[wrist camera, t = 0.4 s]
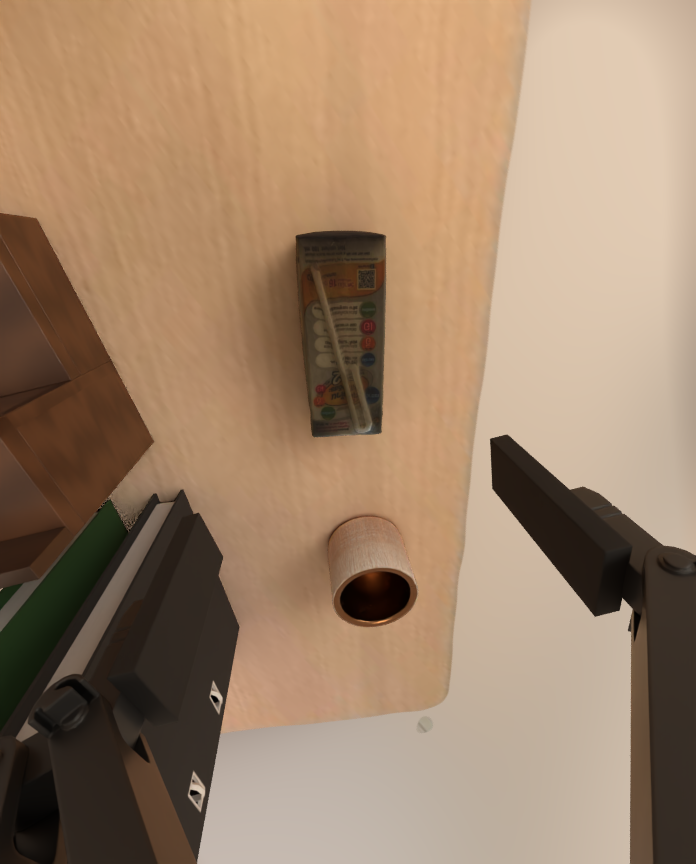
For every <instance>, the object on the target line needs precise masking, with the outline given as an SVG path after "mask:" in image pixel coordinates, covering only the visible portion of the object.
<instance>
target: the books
mask: <svg viewBox="0 0 696 864" xmlns="http://www.w3.org/2000/svg"><path fill="white" fill-rule="evenodd" d="M189 515H193V512H192V510H191V507H190V505H189V502H188V500H187V498H186V495H185V493H184V490H181V491H180V493H179V495H178V497H177V498H176V500H175V502H168V503H161V504H160V502H159V499H158V496H157V494H153V496H152V498H151V499H150V501H149V502H148V504H147V505H146V507H145V508H144V510H143V512H142V513H141V515H140V516H139V518H138V519H137V521H136V522H135V524H134V525H133V527H132V529H131V530H130V532H129V533H128V532H127V530H126V528H125V526H124V525H123V523H122V521H121V519H120V517H119V515H118V513H117V511H116V509H115V508H114V506H113V504H112V502H111V500H108V501H107V502H106V503H105V505H104V506H103V507H102V508H101V509H100V511H99V512H97V513H94V514H93V516H92V517H91V518H90V519H89V520H88V522H87V523H86V524H85V525H84V526H83V527H82V529H81V530H80V531H79V532H78V533H77V535H76V536H75V537H74V538H73V540H72V541H71V542H70V543H69V544H68V546H67V547H66V548H65V549H64V550H63V552H62V553H61V554H60V555H59V556H58V558H57V559H56V560H55V561H54V562H53V564H52V565H51V566H50V567H49V568H48V570H47V571H46V572H45V573H44V574H43V576H42V577H41V578H40V579H38V580H34V581H30V582H26V583H22V584H17V585H13V586H9V587H5V588H3V589H2V590H1V591H0V737H2V736H9V735H12V736H13V737H15V738H16V739H17V740H19V741H20V742H22V741H23V740H25V739H27V738H29V737H30V736H32V735H34V734H36V733H38V731H36V730H35V729H34V728H32V727H31V726H30V725H29V724H28V717H29V714H30V712H31V710H32V708H33V706H34V704H35V703H36V701H37V700H38V699H39V698H40V696H41V695H42V694H43V693H44V692H45V691H46V690H47V689H48V688H49V687H50V686H51V685H53V684H54V683H55V682H57V681H58V680H60V679H62V678H63V677H65V676H68V675H71V674H81V675H82V676H83V677H84V678H85V679H86V680H87V681H88V682H89V681H90V679H91V677H92V675H93V673H94V671H95V669H96V667H97V665H98V663H99V661H100V659H101V657H102V655H103V653H104V651H105V649H106V647H107V645H109V641H110V639H111V637H112V635H113V633H115V632H116V630H115V629H116V628H117V626H118V624H119V622H120V620H121V618H122V616H123V614H124V613H125V612H126V611H127V610H128V608H129V607H130V606H131V605H132V604H133V602H134V601H137V600H141V599H144V597H145V595H146V593H147V591H148V589H149V587H150V584H151V582H152V580H153V578H154V576H155V574H156V572H157V570H158V567H159V565H160V563H161V561H162V559H163V557H164V555H165V553H166V550H167V548H168V546H169V544H170V542H171V540H172V538H173V536H174V533H175V531H176V529H177V527H178V525H179V523H180V521H181V519H182V517H185V516H189ZM238 631H239V625H238V623H237V620H236V618H235V615H234V613H233V610H232V608H231V605H230V603H229V601H228V598H227V596H226V593H225V591H224V588H223V586H222V583H221V581H220V578H219V576H218V578H217V582H216V585H215V589H214V593H213V596H212V600H211V604H210V607H209V611H208V615H207V618H206V622H205V626H204V629H203V633H202V637H201V640H200V644H199V648H198V651H197V655H196V659H195V662H194V666H193V670H192V673H191V677H190V681H189V684H188V688H187V692H186V696H185V699H184V703H183V707H182V710H181V714H180V718H179V721H177V722H173V723H169V724H165V725H161V726H157V727H154V726H153V725H152V724H151V723H150V722H149V721H148V720H147V719H146V718H145V720H144V723H143V726H142V728H141V731H140V732H141V733H142V734H143V735H144V736H145V738H146V740H147V743H148V745H149V748H150V750H151V753H152V755H153V757H154V760H155V762H156V765H157V767H158V770H159V772H160V774H161V777H162V779H163V782H164V784H165V787H166V789H167V791H168V794H169V796H170V799H171V801H172V804H173V806H174V808H175V811H176V813H177V816H178V818H179V821H180V823H181V825H182V828H183V830H184V833H185V835H186V838H187V840H188V842H189V845H190V847H191V850H192V852H193V855H194V857H195V859H196V862H197V859H198V854H199V848H200V842H201V837H202V831H203V826H204V820H205V814H206V809H207V803H208V797H209V792H210V787H211V781H212V776H213V770H214V765H215V759H216V754H217V748H218V742H219V737H220V731H221V726H222V720H223V715H224V709H225V704H226V698H227V692H228V687H229V681H230V676H231V670H232V665H233V659H234V654H235V648H236V642H237V637H238ZM67 864H68V861H67Z"/></svg>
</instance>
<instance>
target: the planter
mask: <svg viewBox="0 0 696 864" xmlns="http://www.w3.org/2000/svg"><path fill="white" fill-rule="evenodd" d="M328 560H329V570H330V580H331V591H332V603H333V608H334V610H335V612H336V614H337V615H338V616H339V617H340V618H341V619H342V620H344V621H345V622H347V623H349V624H352V625H355V626H360V627H377V626H383V625H386V624H389V623H392V622H394V621H396V620H398V619H400V618H401V617H403V616H404V615H406V614H407V613H408V612H409V611H410V610H411V609H412V607H413V606H414V604H415V603H416V600H417V597H418V586H417V583H416V580H415V577H414V574H413V571H412V568H411V565H410V562H409V559H408V555H407V552H406V549H405V546H404V543H403V540H402V537H401V534H400V533H399V531H398V529H397V528H396V527H395V526H394V525H393V524H392V523H391V522H389V521H387V520H385V519H383V518H379V517H372V516H366V517H359V518H355V519H352V520H350V521H347V522H346V523H344V524H342V525H341V526H340V527H339V528H337V529H336V530H335V532H334V533H333V534H332V536H331V538H330V540H329V544H328Z"/></svg>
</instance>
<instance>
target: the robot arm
mask: <svg viewBox="0 0 696 864" xmlns="http://www.w3.org/2000/svg"><path fill="white" fill-rule="evenodd" d="M490 445H491V467H492V489H493V490H494V491H495V492H496V494H497V495H498V496H499V497H500V499H501V500H502V501H503V502H504V504H505V505H506V506H507V507H508V509H509V510H510V511H511V512H512V514H513V515H514V516H515V517H516V518H517V520H518V521H519V522H520V523H521V525H522V526H523V527H524V529H525V530H526V531H527V532H528V534H529V535H530V536H531V537H532V539H533V540H534V541H535V542H536V544H537V545H538V546H539V547H540V549H541V550H542V551H543V552H544V553H545V555H546V556H547V557H548V559H549V560H550V561H551V562H552V564H553V565H554V566H555V567H556V569H557V570H558V571H559V572H560V574H562V576H563V577H564V579H565V580H566V581H567V582H568V583H569V585H570V586H571V587H572V588H573V590H574V591H575V592H576V593H577V595H578V596H579V597H580V598H581V600H582V601H583V602H584V603H585V605H586V606H587V607H588V608H589V610H590V611H591V612H592V613H593V615H594V616H595V617H596V616H600V615H603V614H607V613H612V612H616V611H619V610H620V606H621V601H622V598H623V599H624V600H625V601H626V602H627V603H628V604H629V605H630V606H631V607H632V608H633V611H632V615H631V619H630V624H629V628H628V631H630V632H631V794H630V796H631V797H630V798H631V801H630V864H696V556H695V555H693V554H691V553H690V552H688V551H685V550H682V549H679V548H676V547H670V546H663V545H662V544H661V543H659V542H658V541H657V540H656V539H654V538H653V537H652V536H651V535H649V534H648V533H647V532H646V531H644V530H643V529H642V528H641V527H640V526H638V525H637V524H636V523H635V522H633V521H632V520H631V519H630V518H629V517H627V516H626V515H625V514H622V513H621V511H620V510H619V509H617V508H616V507H615V506H612V504H611V503H610V502H609V501H608V500H606V499H605V498H604V497H603V496H601V495H600V494H599V493H596V492H594V491H592V490H590V489H587V488H585V487H580V488H576V489H572V490H569V489H568V488H567V487H566V486H565V485H564V484H563V483H561V482H560V481H559V480H558V479H557V478H556V477H554V475H552V474H551V473H550V472H549V471H548V470H547V469H545V468H544V467H543V466H542V465H541V464H540V463H539V462H538V461H537V460H535V459H534V458H533V457H532V456H531V455H530V454H529V453H528V452H526V451H525V450H524V449H523V448H522V447H521V446H519V444H517V443H516V442H515V441H514V440H513V439H512V438H511V437H510V436H508V435H503V436H499V437H495V438H491V439H490ZM222 560H223V556H222V554H221V552H220V550H219V548H218V547H217V545H216V543H215V541H214V539H213V537H212V536H211V534H210V532H209V530H208V528H207V527H206V525H205V523H204V521H203V519H202V517H201V516H200V514H199V513H197V514H193V515H189V516H185V517H182V519H181V521H180V523H179V525H178V527H177V529H176V531H175V533H174V536H173V538H172V540H171V542H170V544H169V546H168V548H167V550H166V553H165V555H164V557H163V559H162V561H161V563H160V565H159V567H158V570H157V572H156V574H155V576H154V578H153V580H152V582H151V584H150V587H149V589H148V591H147V593H146V595H145V597H144V599H141V600H137V601H134V602H133V604H132V605H131V606H130V607H129V608H128V610H127V611H126V612H125V613H124V614H123V616H122V618H121V620H120V622H119V624H118V626H117V628H116V629H115V630H116V632H115V633H113V635H112V637H111V639H110V641H109V645H107V647H106V649H105V651H104V653H103V655H102V657H101V659H100V661H99V663H98V665H97V667H96V669H95V671H94V673H93V675H92V677H91V679H90V681H89V682H88V681H87V680H86V679H85V678H84V677H83V676H82V675H81V674H71V675H68V676H65V677H63V678H62V679H60V680H58V681H57V682H55V683H54V684H53V685H51V686H50V687H49V688H48V689H47V690H46V691H45V692H44V693H43V694H42V695H41V696H40V698H39V699H38V700H37V701H36V703H35V704H34V706H33V708H32V710H31V712H30V714H29V717H28V724H29V725H30V726H31V727H32V728H34V729H35V730H36V731H38V733H36V734H34V735H32V736H30V737H29V738H27V739H25V740H23V741H22V742H20V741H19V740H17V739H16V738H15V737H13V736H12V735H9V736H2V737H0V864H67V861H68V864H197V862H196V859H195V857H194V855H193V852H192V850H191V847H190V845H189V842H188V840H187V838H186V835H185V833H184V830H183V828H182V825H181V823H180V821H179V818H178V816H177V813H176V811H175V808H174V806H173V804H172V801H171V799H170V796H169V794H168V791H167V789H166V787H165V784H164V782H163V779H162V777H161V774H160V772H159V770H158V767H157V765H156V762H155V760H154V757H153V755H152V753H151V750H150V748H149V745H148V743H147V740H146V738H145V736H144V735H143V734H142V733H141V732H140V731H141V728H142V726H143V723H144V720H145V718H146V719H147V720H148V721H149V722H150V723H151V724H152V725H153V726H154V727H157V726H161V725H165V724H169V723H173V722H177V721H179V718H180V714H181V710H182V707H183V703H184V699H185V696H186V692H187V688H188V684H189V681H190V677H191V673H192V670H193V666H194V662H195V659H196V655H197V651H198V648H199V644H200V640H201V637H202V633H203V629H204V626H205V622H206V618H207V615H208V611H209V607H210V604H211V600H212V596H213V593H214V589H215V585H216V582H217V578H218V574H219V571H220V567H221V563H222Z"/></svg>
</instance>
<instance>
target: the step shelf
mask: <svg viewBox="0 0 696 864" xmlns="http://www.w3.org/2000/svg"><path fill="white" fill-rule="evenodd" d="M153 442H154V441H153V439H152V437H151V435H150V433H149V431H148V430H147V428H146V426H145V424H144V422H143V420H142V418H141V416H140V414H139V412H138V411H137V409H136V407H135V405H134V403H133V401H132V399H131V397H130V395H129V394H128V392H127V390H126V388H125V386H124V384H123V382H122V380H121V378H120V376H119V375H118V373H117V371H116V369H115V367H114V365H113V363H112V361H111V359H110V357H109V355H108V354H107V352H106V350H105V348H104V346H103V344H102V342H101V340H100V338H99V336H98V335H97V333H96V331H95V329H94V327H93V325H92V323H91V321H90V319H89V317H88V316H87V314H86V312H85V310H84V308H83V306H82V304H81V302H80V300H79V299H78V297H77V295H76V293H75V291H74V289H73V287H72V285H71V283H70V281H69V280H68V278H67V276H66V274H65V272H64V270H63V268H62V266H61V264H60V262H59V261H58V259H57V257H56V255H55V253H54V251H53V249H52V247H51V245H50V244H49V242H48V240H47V238H46V236H45V234H44V232H43V230H42V228H41V226H40V225H39V223H38V221H37V219H36V218H29V217H23V216H16V215H9V214H3V213H0V589H1V588H5V587H9V586H13V585H17V584H22V583H26V582H30V581H34V580H38V579H40V578H41V577H42V576H43V574H44V573H45V572H46V571H47V570H48V568H49V567H50V566H51V565H52V564H53V562H54V561H55V560H56V559H57V558H58V556H59V555H60V554H61V553H62V552H63V550H64V549H65V548H66V547H67V546H68V544H69V543H70V542H71V541H72V540H73V538H74V537H75V536H76V535H77V533H78V532H79V531H80V530H81V529H82V527H83V526H84V525H85V524H86V523H87V522H88V520H89V519H90V518H91V517H92V516H93V514H94V513H95V512H96V511H97V510H98V508H99V507H100V506H101V505H102V504H103V502H104V501H105V500H106V499H107V497H108V496H109V495H110V494H111V493H112V491H113V490H114V489H115V488H116V487H117V485H118V484H119V483H120V482H121V481H122V479H123V478H124V477H125V476H126V475H127V473H128V472H129V471H130V470H131V469H132V467H133V466H134V465H135V464H136V463H137V461H138V460H139V459H140V458H141V457H142V455H143V454H144V453H145V452H146V451H147V449H148V448H149V447H150V446H151V445H152V443H153Z"/></svg>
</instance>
